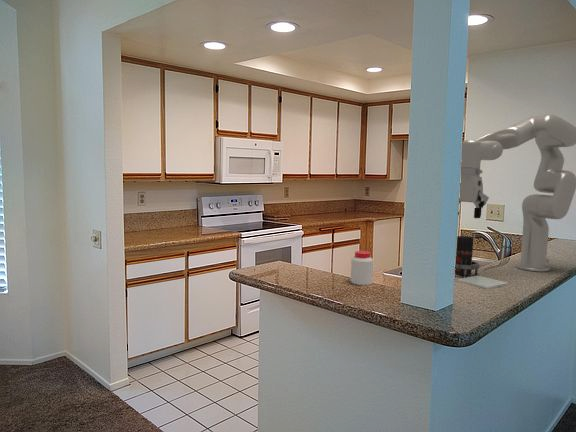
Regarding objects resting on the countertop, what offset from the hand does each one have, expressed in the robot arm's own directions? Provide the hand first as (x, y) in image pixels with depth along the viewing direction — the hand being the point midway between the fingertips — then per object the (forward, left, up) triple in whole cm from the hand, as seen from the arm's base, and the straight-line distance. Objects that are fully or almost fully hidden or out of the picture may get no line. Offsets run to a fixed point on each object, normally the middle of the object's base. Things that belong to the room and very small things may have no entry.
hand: (466, 216), depth 172 cm
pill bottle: (+44, -10, -23) cm, 51 cm away
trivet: (+5, +12, -23) cm, 26 cm away
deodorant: (0, 0, -23) cm, 23 cm away
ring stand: (0, 0, -23) cm, 23 cm away
